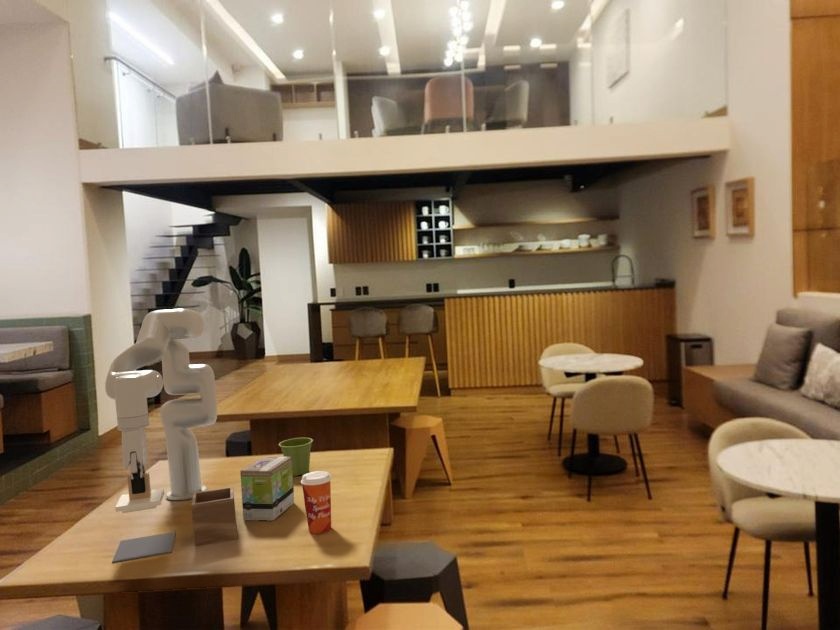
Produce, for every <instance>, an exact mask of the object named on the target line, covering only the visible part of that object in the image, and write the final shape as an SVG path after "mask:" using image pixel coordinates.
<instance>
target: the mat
mask: <svg viewBox="0 0 840 630" xmlns="http://www.w3.org/2000/svg"><path fill="white" fill-rule="evenodd" d="M175 537H176V531H171V532H165V533H158V534H153V535H147V536H142V537H135V538H129V539H123V540H120V542H119V544H118V546H117V549H116V551H115V554H114V556H113V558H112V561H111V563H112V564H114V562H115V563H121V562H126V561H132V560H136V559H143V558H149V557H154V556H161V555H164V554H165V555H166V554H171V553H173V549H174V548H173V547H174V544H175Z"/></svg>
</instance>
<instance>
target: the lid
mask: <svg viewBox="0 0 840 630" xmlns="http://www.w3.org/2000/svg"><path fill="white" fill-rule="evenodd" d="M143 477H144V478H145V489H146V491H145V493H139V494H132V486H131V474H129V475H128V476H127V479H126V480H127V487H128V488H127V489H128V493H126V494H121V496H120V497H119V499H118V501H117V503H116V505H115V509H114V511H115V513H117V512H118V513H119V512H121V513H122V514H126V513H127V514H128V513H134V512H140V511H146V510H152V509H157V506H161V505H162V501H163V497H164V495H165V488H159V489H151V480H150V472H145V473H143Z"/></svg>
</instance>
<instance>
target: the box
mask: <svg viewBox="0 0 840 630" xmlns="http://www.w3.org/2000/svg"><path fill="white" fill-rule="evenodd" d="M234 493H235V491H234V487H233V486H228V487H224V488H223V487H222V488H216V489H209V490H208V489H207V491H202V492H195V493H193V498H191V514H192V527H193V535H194V536H193V537H194V546H196V547H198V546H204V545H208V544H210V545H211V544H215V543H220V542H227V541H232V540H237V539H238V529H237V525H238V524H237V516H236V505H235V504H236V503H235V494H234Z"/></svg>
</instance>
